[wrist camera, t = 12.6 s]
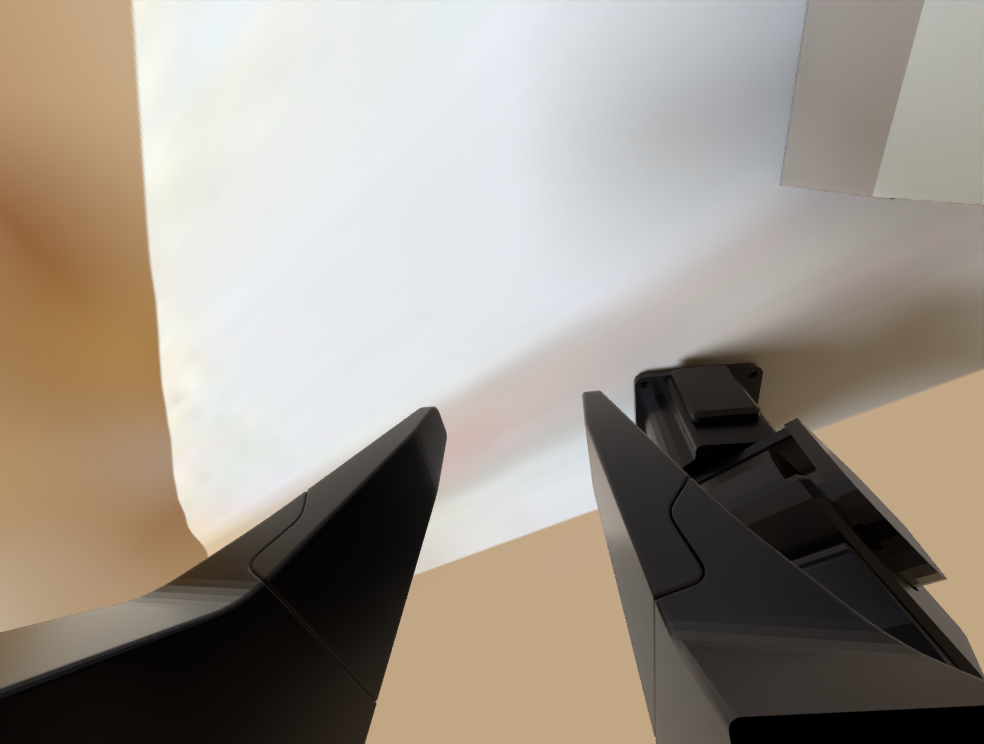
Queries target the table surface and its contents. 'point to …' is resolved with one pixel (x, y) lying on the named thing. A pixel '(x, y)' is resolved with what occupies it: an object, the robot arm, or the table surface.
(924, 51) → the rear flap
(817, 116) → the cabinet
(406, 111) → the table surface
